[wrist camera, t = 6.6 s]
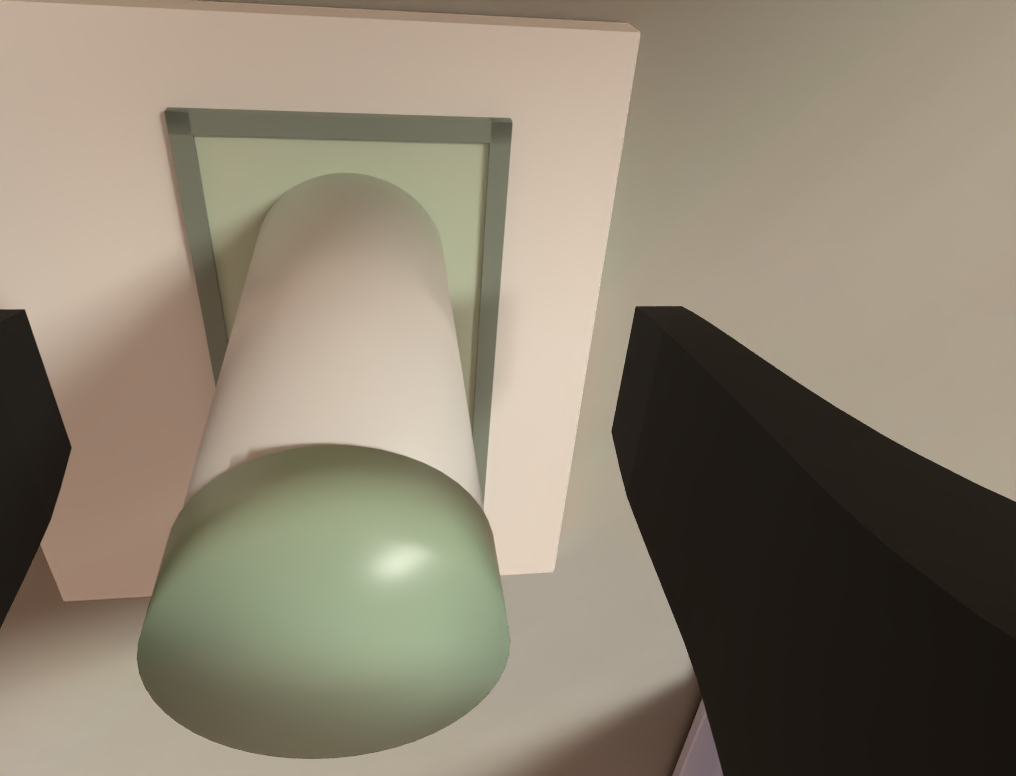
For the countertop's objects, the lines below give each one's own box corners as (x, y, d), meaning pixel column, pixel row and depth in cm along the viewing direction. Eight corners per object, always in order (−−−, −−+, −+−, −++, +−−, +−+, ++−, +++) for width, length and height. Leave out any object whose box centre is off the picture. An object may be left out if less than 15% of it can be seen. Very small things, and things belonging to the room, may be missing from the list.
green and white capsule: (440, 343, 13) (492, 746, 7) (259, 339, 12) (166, 769, 7) (453, 175, 11) (532, 534, 6) (245, 162, 11) (102, 543, 5)
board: (548, 550, 17) (555, 579, 17) (73, 578, 16) (60, 610, 15) (629, 23, 11) (644, 35, 10) (-161, -18, 9) (-200, -6, 9)
